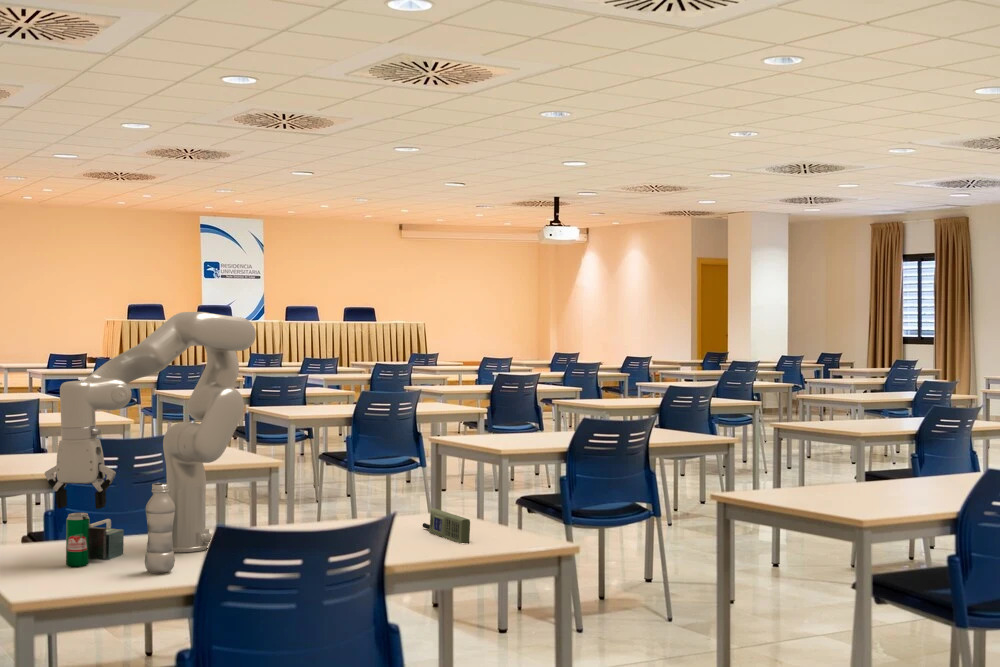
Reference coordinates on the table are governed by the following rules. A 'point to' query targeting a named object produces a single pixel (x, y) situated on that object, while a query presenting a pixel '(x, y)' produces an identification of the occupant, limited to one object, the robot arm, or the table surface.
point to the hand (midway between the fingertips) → (81, 507)
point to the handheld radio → (449, 526)
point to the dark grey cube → (114, 543)
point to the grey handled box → (98, 540)
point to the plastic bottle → (160, 530)
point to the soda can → (77, 540)
